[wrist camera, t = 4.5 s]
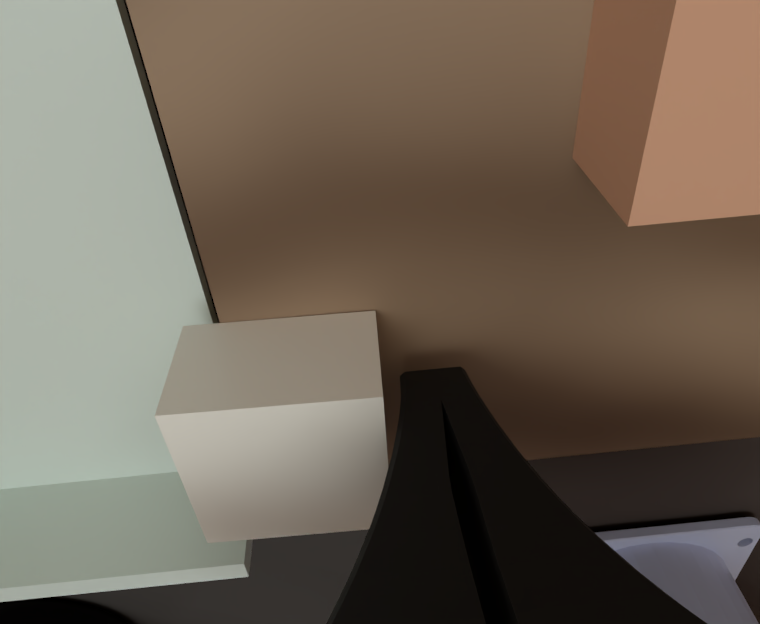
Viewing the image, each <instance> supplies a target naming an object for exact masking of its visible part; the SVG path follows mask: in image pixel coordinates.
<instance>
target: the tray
mask: <svg viewBox="0 0 760 624" xmlns="http://www.w3.org/2000/svg"><path fill="white" fill-rule="evenodd" d="M215 323H218V320H217V316H216V313H215V309H214V306H213V303H212V299H211V296H210V292H209V289H208V286H207V282H206V279H205V275H204V272H203V269H202V265H201V262H200V258H199V255H198V252H197V248H196V245H195V241H194V238H193V235H192V231H191V228H190V224H189V221H188V218H187V214H186V211H185V207H184V204H183V200H182V197H181V194H180V190H179V187H178V183H177V180H176V177H175V173H174V170H173V166H172V163H171V160H170V156H169V153H168V149H167V146H166V143H165V139H164V136H163V132H162V129H161V126H160V122H159V119H158V115H157V112H156V109H155V105H154V102H153V98H152V95H151V92H150V88H149V85H148V81H147V78H146V75H145V71H144V68H143V64H142V61H141V58H140V54H139V51H138V47H137V44H136V40H135V37H134V34H133V30H132V27H131V23H130V20H129V17H128V13H127V10H126V6H125V3H124V0H0V602H6V601H16V600H26V599H36V598H45V597H55V596H65V595H75V594H84V593H94V592H104V591H113V590H123V589H133V588H143V587H152V586H162V585H172V584H182V583H191V582H201V581H211V580H221V579H230V578H240V577H249V570H250V561H251V551H252V542H253V539H250V540H238V541H227V542H215V543H207V541H206V538H205V536H204V533H203V531H202V529H201V526H200V524H199V521H198V519H197V517H196V514H195V512H194V509H193V507H192V505H191V502H190V500H189V497H188V495H187V493H186V490H185V488H184V485H183V483H182V481H181V478H180V476H179V473H178V471H177V469H176V466H175V464H174V461H173V459H172V457H171V454H170V452H169V449H168V447H167V445H166V442H165V440H164V437H163V435H162V433H161V430H160V428H159V425H158V423H157V421H156V418H155V413H156V410H157V407H158V404H159V400H160V397H161V394H162V391H163V388H164V385H165V382H166V378H167V375H168V372H169V369H170V366H171V363H172V359H173V356H174V353H175V350H176V347H177V344H178V341H179V337H180V334H181V331H182V328H183V326H190V325H203V324H215Z"/></svg>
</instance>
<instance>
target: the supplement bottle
mask: <svg viewBox="0 0 760 624" xmlns="http://www.w3.org/2000/svg"><path fill="white" fill-rule="evenodd" d="M0 624H128V623H127V622H125V621H124V620H122V619H121V618H119V617H117V616H116V615H113V614H111V613H109V612H107V611H104V610H102V609H98V608H95V607H92V606H88V605H84V604H80V603H74V602H68V601H59V600H24V601H15V602H9V603H4V604H0Z"/></svg>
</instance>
